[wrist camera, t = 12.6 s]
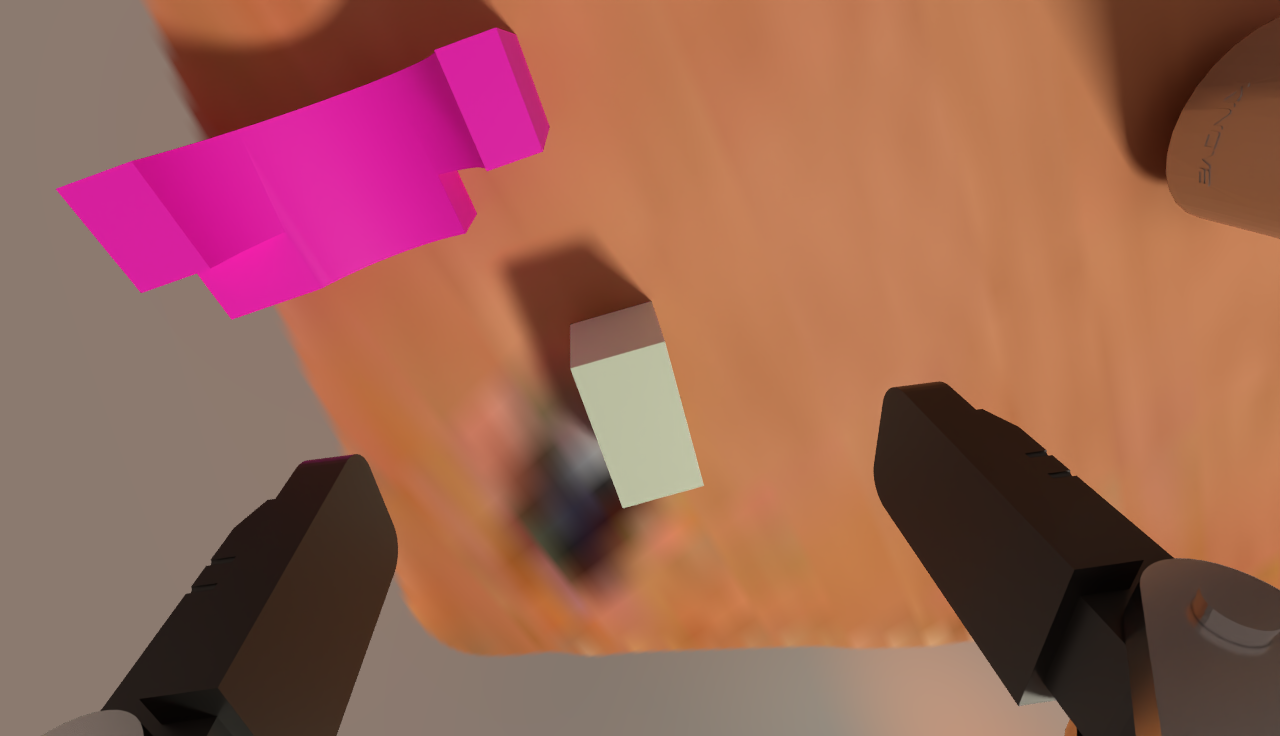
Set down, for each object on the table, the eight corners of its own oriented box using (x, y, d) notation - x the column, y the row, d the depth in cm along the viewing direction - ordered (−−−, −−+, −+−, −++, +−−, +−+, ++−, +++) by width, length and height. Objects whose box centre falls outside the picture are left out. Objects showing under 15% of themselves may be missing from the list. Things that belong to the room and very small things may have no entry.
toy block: (279, 282, 28) (190, 352, 21) (191, 152, 25) (55, 188, 18) (569, 180, 27) (569, 221, 20) (516, 34, 24) (495, 27, 17)
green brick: (703, 485, 30) (687, 431, 35) (664, 341, 26) (651, 300, 30) (623, 508, 30) (616, 451, 35) (570, 368, 26) (570, 323, 30)
